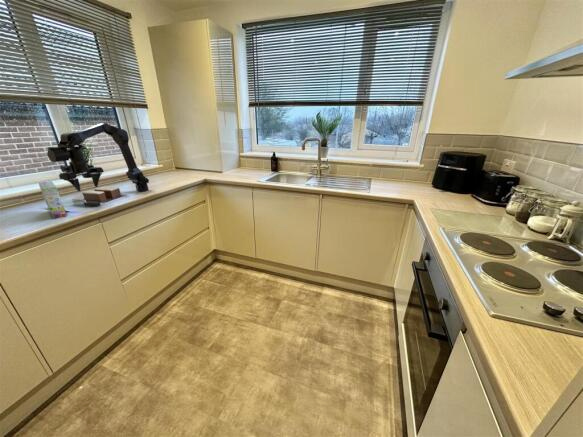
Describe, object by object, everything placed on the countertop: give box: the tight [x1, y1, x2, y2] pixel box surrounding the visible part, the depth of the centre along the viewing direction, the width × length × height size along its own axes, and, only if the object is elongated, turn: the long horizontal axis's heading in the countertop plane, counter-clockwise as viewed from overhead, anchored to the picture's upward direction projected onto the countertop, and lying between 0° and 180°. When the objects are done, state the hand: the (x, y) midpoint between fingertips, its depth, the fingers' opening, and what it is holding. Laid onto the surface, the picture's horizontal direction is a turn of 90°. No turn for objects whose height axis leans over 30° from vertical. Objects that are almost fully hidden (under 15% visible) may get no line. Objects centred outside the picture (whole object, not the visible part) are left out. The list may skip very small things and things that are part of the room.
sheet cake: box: [93, 186, 122, 198], centre depth 147 cm, size 12×6×5 cm, turn 78°
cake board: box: [81, 194, 128, 204], centre depth 144 cm, size 20×16×1 cm
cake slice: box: [82, 190, 106, 202], centre depth 139 cm, size 12×4×5 cm, turn 75°
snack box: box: [38, 180, 67, 219], centre depth 121 cm, size 21×6×15 cm, turn 48°
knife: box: [71, 198, 102, 208], centre depth 131 cm, size 17×2×4 cm, turn 78°
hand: (88, 189), depth 127 cm, fingers open, 9 cm apart
